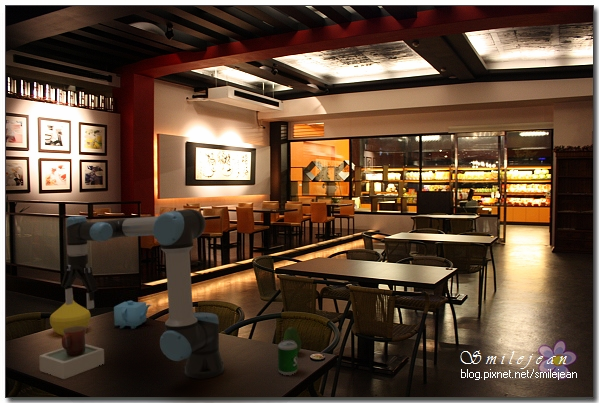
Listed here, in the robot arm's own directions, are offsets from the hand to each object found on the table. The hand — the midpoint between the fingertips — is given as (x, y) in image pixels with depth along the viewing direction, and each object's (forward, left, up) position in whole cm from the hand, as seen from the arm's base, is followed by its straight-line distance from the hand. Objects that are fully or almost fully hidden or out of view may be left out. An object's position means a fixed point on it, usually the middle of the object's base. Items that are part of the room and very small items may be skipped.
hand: (79, 306), depth 204 cm
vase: (+42, -23, -25) cm, 54 cm away
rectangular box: (+1, +3, -24) cm, 25 cm away
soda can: (-77, -37, -25) cm, 89 cm away
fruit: (-68, -54, -25) cm, 90 cm away
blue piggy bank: (+23, -47, -25) cm, 58 cm away
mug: (+1, +3, -20) cm, 20 cm away
